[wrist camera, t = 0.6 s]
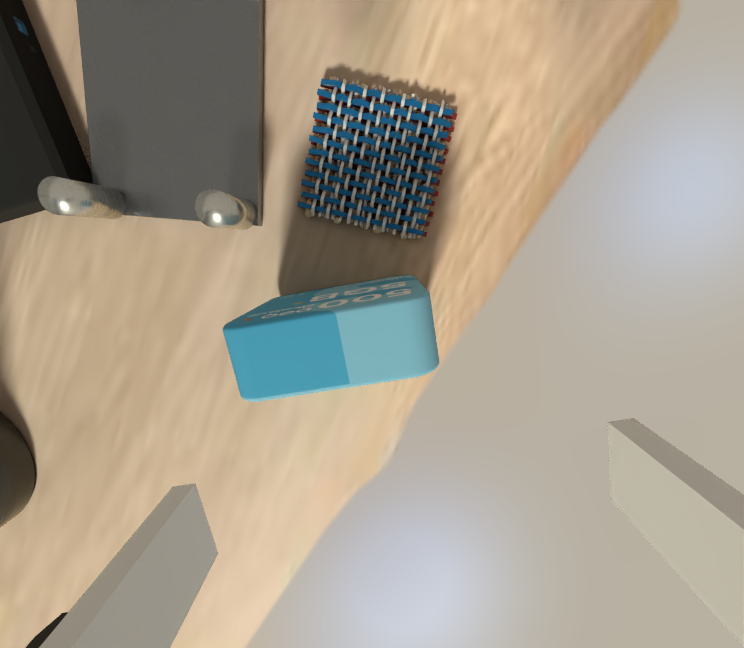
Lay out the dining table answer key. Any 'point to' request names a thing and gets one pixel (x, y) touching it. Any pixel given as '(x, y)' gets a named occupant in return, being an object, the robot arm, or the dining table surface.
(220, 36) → the chassis
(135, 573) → the robot arm
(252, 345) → the data package
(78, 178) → the external hard drive
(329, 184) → the woven mat
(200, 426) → the dining table surface
